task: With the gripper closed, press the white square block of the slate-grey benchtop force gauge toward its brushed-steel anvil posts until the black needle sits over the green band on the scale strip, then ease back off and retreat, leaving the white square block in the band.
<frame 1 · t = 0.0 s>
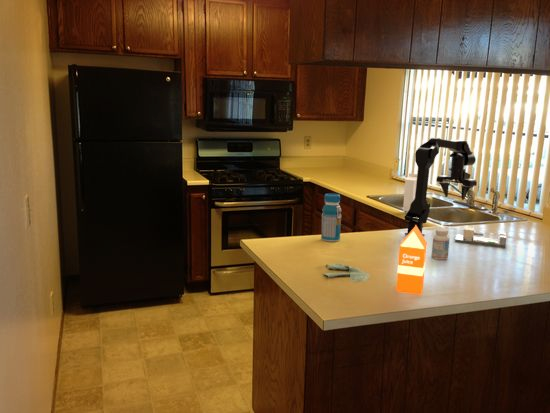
hand: (454, 198, 240), 15 cm above the table, fingers open, 9 cm apart
pill bottle: (439, 258, 192), on the table
gauge base: (480, 242, 216), on the table
milk: (410, 213, 278), on the table
cloth: (339, 274, 172), on the table
orange juice: (410, 289, 158), on the table
white square block: (473, 234, 216), point 4 cm above the table, slide at 0.0 cm
beverage bottle: (330, 240, 216), on the table
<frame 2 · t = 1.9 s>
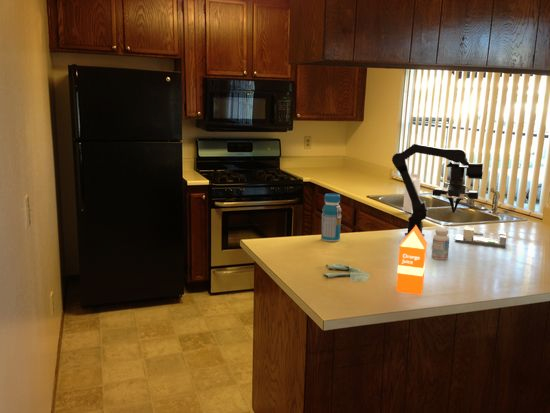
hand: (453, 212, 219), 12 cm above the table, fingers closed
nothing on the table moved.
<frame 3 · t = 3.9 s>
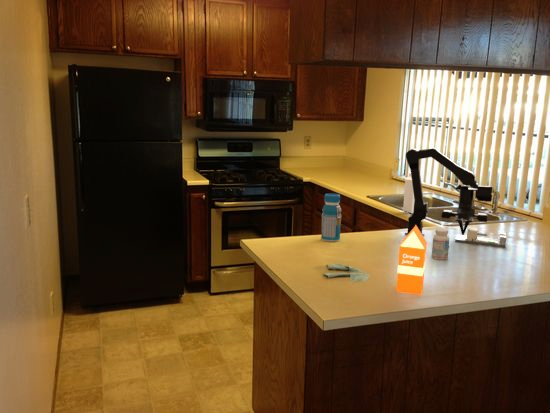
hand: (462, 234, 219), 2 cm above the table, fingers closed
white square block: (477, 234, 215), point 4 cm above the table, slide at 1.5 cm, touching gripper
everything else where it was.
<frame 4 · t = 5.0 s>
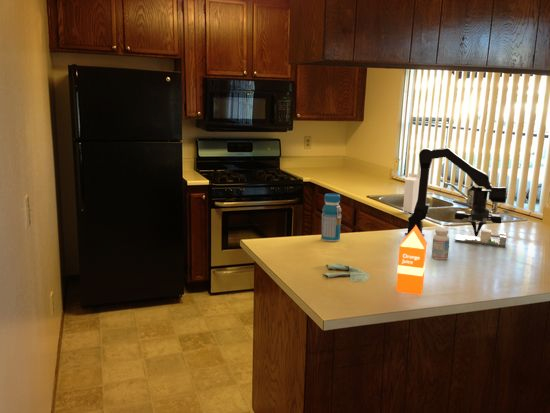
hand: (476, 236, 217), 2 cm above the table, fingers closed
white square block: (490, 236, 213), point 4 cm above the table, slide at 7.0 cm, touching gripper
everything else where it was.
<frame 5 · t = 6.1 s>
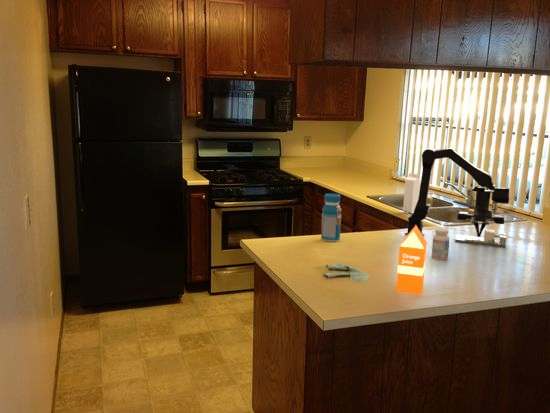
hand: (478, 236, 216), 2 cm above the table, fingers closed
white square block: (494, 236, 212), point 4 cm above the table, slide at 8.4 cm
everything else where it was.
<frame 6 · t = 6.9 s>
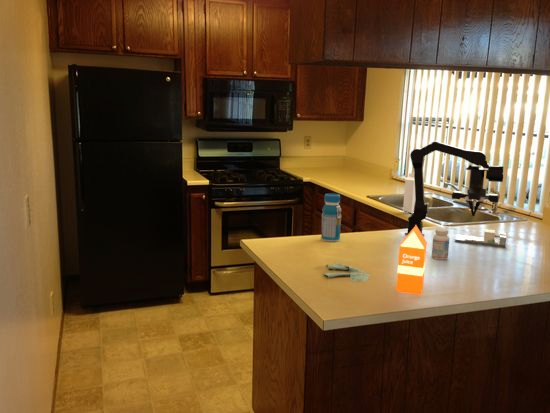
hand: (473, 216, 216), 11 cm above the table, fingers closed
nothing on the table moved.
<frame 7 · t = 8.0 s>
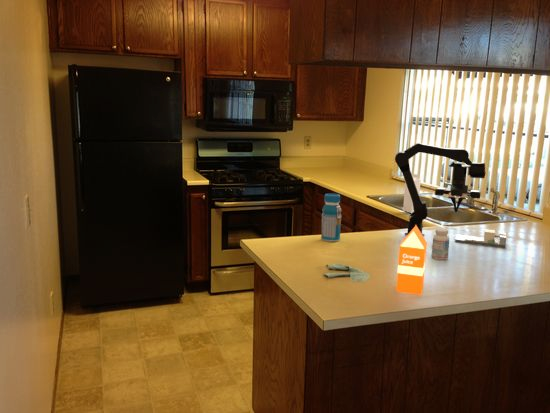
hand: (455, 211, 220), 12 cm above the table, fingers closed
nothing on the table moved.
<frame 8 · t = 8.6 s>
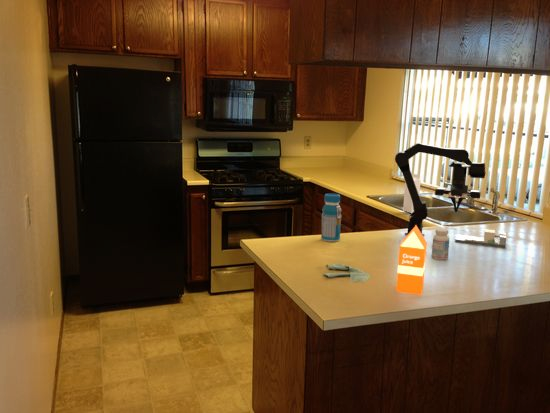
hand: (455, 211, 220), 12 cm above the table, fingers closed
nothing on the table moved.
at the end: white square block slide at 8.4 cm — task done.
